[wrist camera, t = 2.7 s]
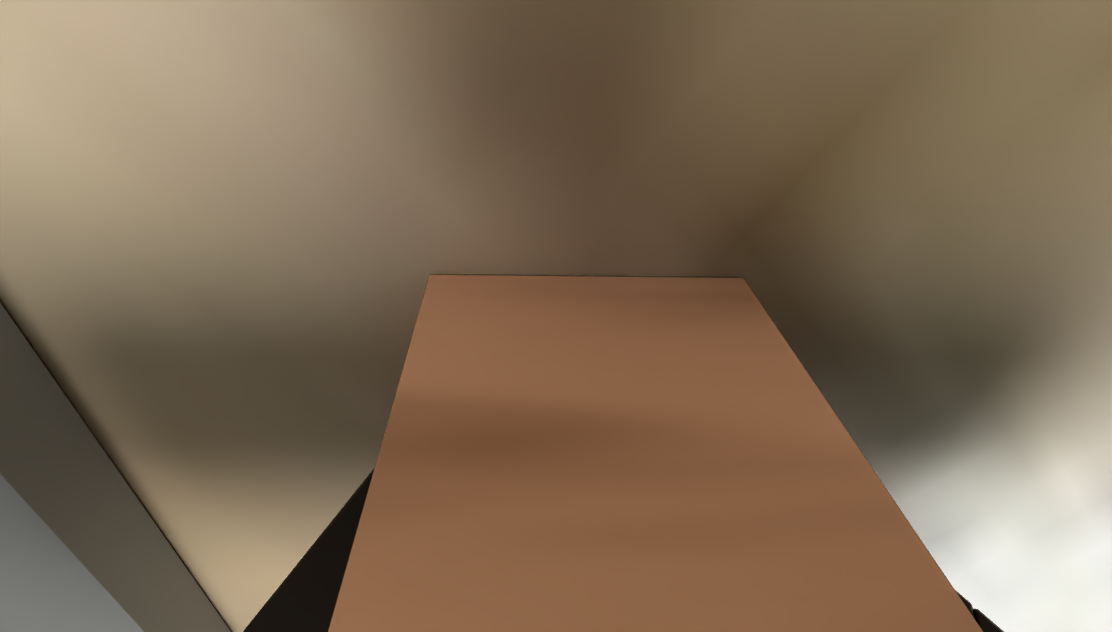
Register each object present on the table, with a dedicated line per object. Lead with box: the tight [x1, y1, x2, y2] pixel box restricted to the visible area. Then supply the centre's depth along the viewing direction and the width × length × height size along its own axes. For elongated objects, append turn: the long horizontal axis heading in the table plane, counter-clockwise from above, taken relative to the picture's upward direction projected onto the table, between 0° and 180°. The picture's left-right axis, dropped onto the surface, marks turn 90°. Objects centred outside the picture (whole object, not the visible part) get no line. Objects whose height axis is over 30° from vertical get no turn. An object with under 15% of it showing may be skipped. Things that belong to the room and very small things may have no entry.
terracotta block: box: [328, 275, 983, 632], centre depth 7 cm, size 5×5×6 cm
